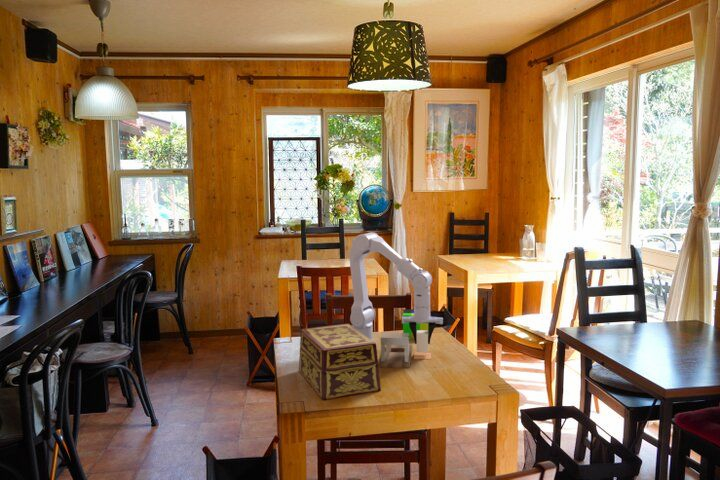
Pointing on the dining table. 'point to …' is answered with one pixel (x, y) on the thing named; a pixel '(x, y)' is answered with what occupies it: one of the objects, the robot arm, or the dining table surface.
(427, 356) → the terracotta tile
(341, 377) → the decorative box
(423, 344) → the cream block
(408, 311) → the puzzle toy
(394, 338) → the sliding cover
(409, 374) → the dining table surface
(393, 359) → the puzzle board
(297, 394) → the dining table surface
